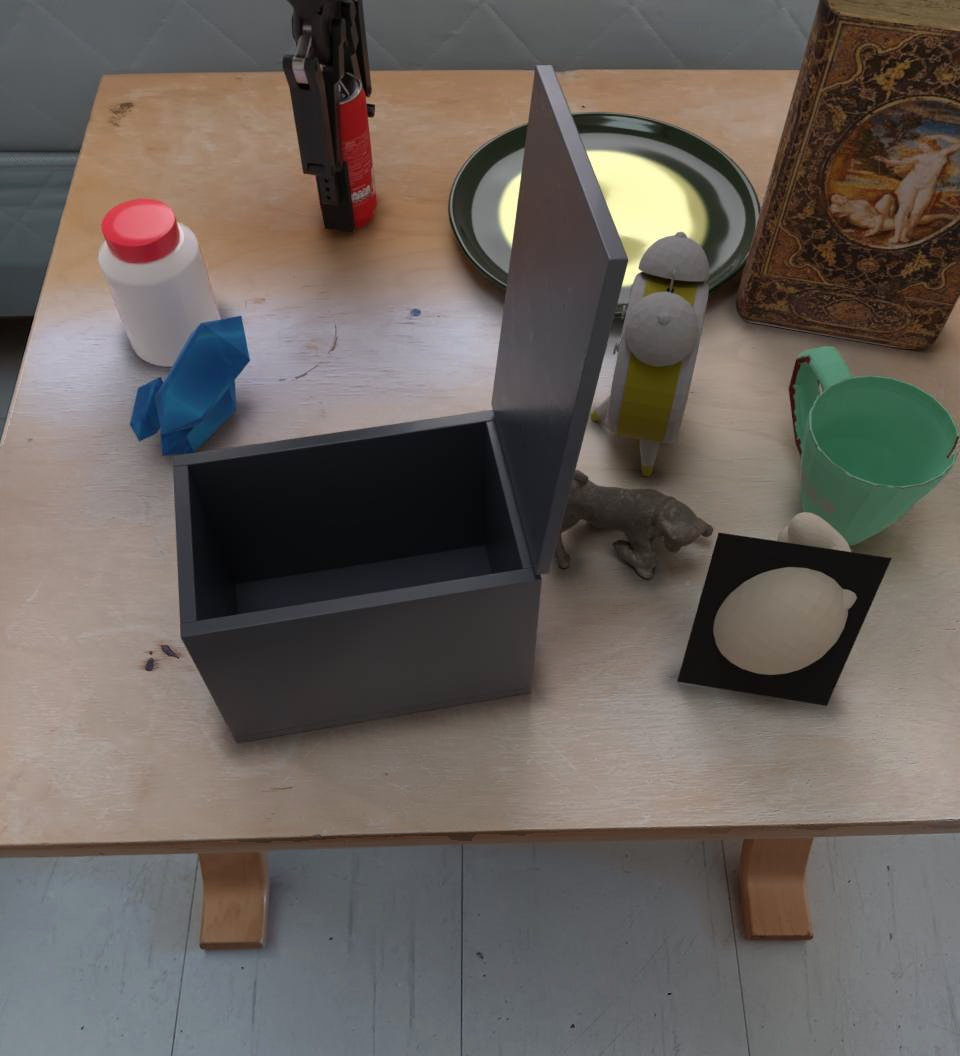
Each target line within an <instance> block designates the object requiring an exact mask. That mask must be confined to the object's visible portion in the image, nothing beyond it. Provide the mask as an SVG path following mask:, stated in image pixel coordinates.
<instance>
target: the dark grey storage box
mask: <svg viewBox="0 0 960 1056" xmlns="http://www.w3.org/2000/svg"><path fill="white" fill-rule="evenodd" d="M172 467H173V468H172V475H173V496H174V497H173V498H174V500H173V501H174V521H175V541H176V542H175V543H176V564H177V566H176V567H177V585H178V588H177V589H178V609H179V632H180V639H181V641H182V642H183V645H184V647H185V649H186V650H187V652H188V654H189V656H190V658H191V660H192V661H193V664H194V665H195V667H196V669H197V671H198V673H199V674H200V677H201V679H202V680H203V682H204V685H205V686H206V688H207V690H208V692H209V693H210V696H211V698H212V699H213V701H214V703H215V705H216V708H217V709H218V711H219V712H220V715H221V716H222V719H223V721H224V723H225V724H226V726H227V728H228V730H229V732H230V734H231V735H232V737H233V738H234V739H233V740H234V742H235V743H237V744H238V743H239V744H240V743H244V742H245V743H246V742H251V741H255V740H263V739H268V738H273V737H280V736H285V735H291V734H297V733H302V732H308V731H314V730H321V729H326V728H333V727H337V726H344V725H351V724H355V723H361V722H367V721H372V720H379V719H385V718H390V717H396V716H403V715H408V714H414V713H419V712H425V711H430V710H431V711H432V710H437V709H443V708H449V707H454V706H460V705H466V704H472V703H478V702H483V701H490V700H496V699H501V698H507V697H513V696H519V695H525V694H530V693H532V688H533V687H532V686H533V677H534V667H535V655H536V645H537V635H538V626H539V625H538V624H539V613H540V605H541V603H540V602H541V594H542V582H543V579H542V578H543V577H542V574H540V575H536V574H535V570H534V566H533V562H532V558H531V555H530V551H529V547H528V543H527V539H526V535H525V532H524V528H523V524H522V520H521V516H520V512H519V509H518V505H517V501H516V497H515V493H514V489H513V486H512V482H511V478H510V474H509V470H508V466H507V463H506V459H505V455H504V451H503V447H502V443H501V440H500V436H499V432H498V428H497V424H496V420H495V417H494V413H493V409H490V410H481V411H476V412H468V413H462V414H455V415H448V416H447V415H446V416H441V417H434V418H427V419H420V420H419V419H418V420H413V421H406V422H400V423H399V422H397V423H393V424H391V423H390V424H384V425H378V426H371V427H364V428H355V429H350V430H343V431H336V432H330V433H324V434H315V435H309V436H303V437H302V436H301V437H294V438H288V439H279V440H274V441H266V442H260V443H252V444H247V445H240V446H239V445H238V446H233V447H225V448H219V449H211V450H205V451H196V452H193V453H188V454H178V455H172Z"/></svg>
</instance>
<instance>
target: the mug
mask: <svg viewBox="0 0 960 1056" xmlns="http://www.w3.org/2000/svg"><path fill="white" fill-rule="evenodd" d="M820 387H821V389H822V391H821V392H820ZM788 395H789V397H788V398H789V405H790V413H791V420H792V430H793V437H794V439H793V440H794V443H795V446H796V449H797V452H798V455H799V458H800V461H801V462H800V491H801V492H800V493H801V495H800V496H801V497H800V498H801V499H800V500H801V501H800V502H801V506H802V512H808V513H813V514H815V515H817V516H819V517H821V518H822V519H823V520H825V521H826V522H827V523H828V524H830V525H831V526H832V527H833V528H834V529H835V530H836V531H837V532H838V533H839V534H840V535H841V536H842V537H843V538H844V539H845V540H846V542H847V543H848V545H849V547H854V546H856V545H859V544H860V543H862V542H864V541H866V540H868V539H870V538H871V537H872V538H873V536H876V535H877V534H879V533H881V532H883V531H884V530H886V528H888V527H890V526H891V525H893V524H894V523H895V522H897V521H898V520H900V519H901V518H902V517H903V516H904V515H905V514H906V513H907V512H908V511H909V510H910V509H911V508H912V507H913V506H915V505H916V504H917V503H918V502H919V501H920V500H921V499H922V498H924V497H925V496H926V495H927V494H929V493H930V492H931V491H932V490H933V489H935V487H936V486H937V485H938V484H939V483H940V482H941V481H942V480H944V478H945V477H946V476H947V475H948V474H949V473H950V472H951V470H952V469H953V467H954V466H955V464H956V461H957V457H958V454H959V453H958V451H955V452H954V450H956V448H957V445H958V441H959V438H960V432H959V428H958V426H957V424H956V422H955V421H954V418H953V416H952V415H951V413H950V411H949V410H948V409H947V408H946V407H944V405H943V404H942V403H940V401H939V400H938V399H937V398H936V397H935V396H933V395H931V394H930V393H929V392H926V391H925V390H923V389H922V388H921V387H918V386H917V385H915V384H913V383H909V382H906V381H904V380H901V379H897V378H895V377H890V376H889V377H888V376H879V375H871V374H868V375H867V374H866V375H860V376H853V374H852V372H851V371H850V369H849V366H848V364H847V363H846V360H844V358H843V357H842V355H841V354H840V352H839V351H838V350H837V348H836V347H835V346H832V345H829V346H828V345H826V346H820V347H813V348H807V349H805V350H804V351H801V352H800V353H799V354H798V356H797V357H796V359H795V362H794V365H793V370H792V374H791V377H790V381H789V385H788ZM953 452H954V453H953Z"/></svg>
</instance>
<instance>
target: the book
mask: <svg viewBox="0 0 960 1056" xmlns="http://www.w3.org/2000/svg"><path fill="white" fill-rule="evenodd" d="M817 3H818V4H817V7H816V11H815V14H814V18H813V21H812V25H811V29H810V32H809V35H808V39H807V43H806V46H805V50H804V54H803V57H802V61H801V64H800V68H799V70H798V76H797V78H796V82H795V86H794V89H793V93H792V97H791V101H790V104H789V107H788V111H787V115H786V118H785V122H784V125H783V129H782V132H781V136H780V139H779V142H778V146H777V150H776V153H775V158H774V160H773V165H772V168H771V172H770V176H769V178H768V183H767V186H766V189H765V193H764V197H763V200H762V204H761V206H760V207H761V211H760V214H759V218H758V222H757V225H756V229H755V232H754V236H753V240H752V243H751V247H750V250H749V254H748V257H747V261H746V265H745V267H744V268H743V272H742V275H741V280H740V282H739V286H738V290H737V294H736V297H735V309H736V311H737V313H738V315H739V317H740V318H741V319H742V320H743V321H745V322H746V323H751V324H756V325H757V324H758V325H763V326H768V327H775V328H780V329H787V330H792V331H798V332H804V333H807V334H808V333H809V334H814V335H820V336H826V337H831V338H837V339H843V340H849V341H855V342H860V343H867V344H873V345H877V346H885V347H889V348H898V349H906V350H912V351H925V350H928V349H929V348H930V347H932V346H933V345H934V343H935V342H936V341H937V339H938V338H939V337H940V335H941V333H942V331H943V329H944V327H945V325H946V324H947V322H948V320H949V318H950V316H951V313H952V312H953V310H954V308H955V306H956V304H957V302H958V300H959V298H960V0H818V2H817Z"/></svg>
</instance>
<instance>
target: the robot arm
mask: <svg viewBox="0 0 960 1056" xmlns="http://www.w3.org/2000/svg"><path fill="white" fill-rule="evenodd" d="M286 1H287V2H288V3H289V4H290V5H291V7H292V9H293V11H292V15H291V34H292V38H293V39H294V42H295V47H296V48H295V53H294V54H289V53H284V54H283V56H282V61H281V64H282V71H283V73H284V76H285V79H286V82H287V84H288V85H287V86H288V88H289V94H290V100H291V106H292V112H293V118H294V125H295V131H296V138H297V145H298V150H299V155H300V163H301V168H302V173H303V174H304V175H310V176H315V175H316V179H315V181H316V180H317V185H316V187H317V186H318V191H317V193H318V192H319V197H318V200H319V199H320V203H319V206H320V205H321V208H320V211H321V218H322V224H323V229H324V230H327V231H328V230H329V231H337V232H343V233H349V234H354V232H355V230H356V229H355V220H354V212H353V205H352V197H351V189H350V181H349V173H348V166H347V162H346V161H342V146H341V122H340V99H339V81H340V80H341V79H342V78H343V76H344V73H351V74H353V75H355V76H356V77H357V78H358V79H359V80H360V82H361V85H362V88H363V89H364V91H365V95H366V98H370V97H371V95H372V92H373V87H372V79H371V70H370V69H371V68H370V61H369V59H370V58H369V49H368V43H367V42H368V40H367V33H366V31H367V30H366V23H365V13H364V6H363V5H364V4H363V1H364V0H286ZM366 104H367V114H368V118H372V119H373V118H374V117H375V113H376V104H375V103H369V102H368V103H367V102H366Z"/></svg>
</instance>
